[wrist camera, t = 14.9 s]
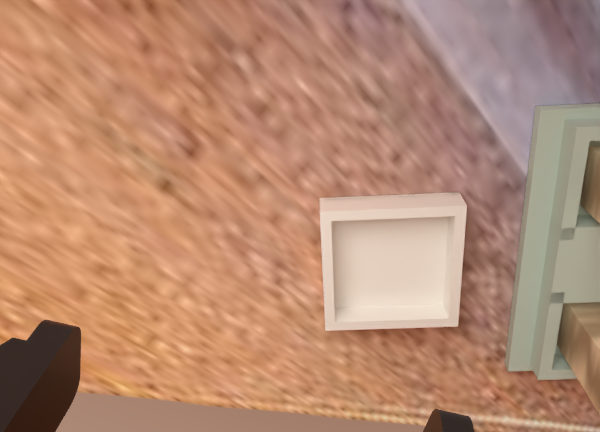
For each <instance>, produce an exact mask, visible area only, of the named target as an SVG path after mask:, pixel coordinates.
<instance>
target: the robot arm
mask: <svg viewBox="0 0 600 432" xmlns="http://www.w3.org/2000/svg"><path fill="white" fill-rule="evenodd" d="M80 357H81V330H80V328H79V327H76V326H72V325H67V324H63V323H58V322H54V321H50V320H44V321H42V322H41V323H40V324H39V325H38V327H37V328H36V329H35V330H34V332H33V333H32V334H31V336H30V337H29V338H28V340H27V341H25V340H21V339H16V338H12V339H10V340H8V341H7V342H5V343H3V344H2V345H0V432H55V431H56V429H57V428H58V426H59V424H60V423H61V421H62V419H63V417H64V416H65V414H66V412H67V411H68V409H69V407H70V405H71V403H72V402H73V399H74V397H75V394H76V392H77V389H78V385H79V380H80ZM423 432H474V428H473V424H472V421H471V419H470V417H469V416H465V415H460V414H456V413H451V412H447V411H443V410H438V409H435V410H434V411H433V412H432V414H431V416H430V418H429V420H428V422H427V424H426V427H425V429H424V431H423Z"/></svg>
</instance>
